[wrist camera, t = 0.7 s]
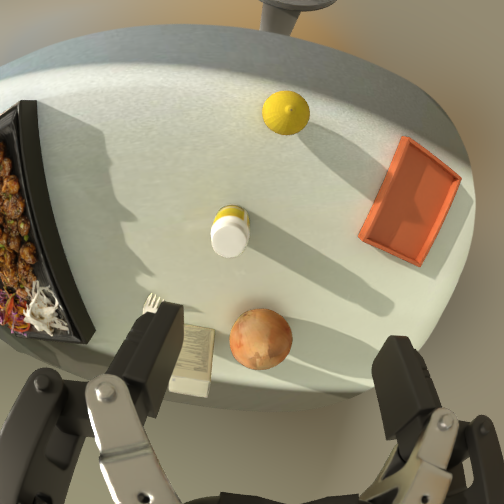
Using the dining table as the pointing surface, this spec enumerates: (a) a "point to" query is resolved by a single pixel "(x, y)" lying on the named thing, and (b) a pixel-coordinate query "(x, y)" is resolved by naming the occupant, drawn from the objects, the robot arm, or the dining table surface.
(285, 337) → the onion
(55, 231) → the food platter
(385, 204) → the tray
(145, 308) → the fork
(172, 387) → the cosmetic box
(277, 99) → the lemon
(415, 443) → the robot arm
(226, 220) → the supplement bottle
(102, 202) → the dining table surface
